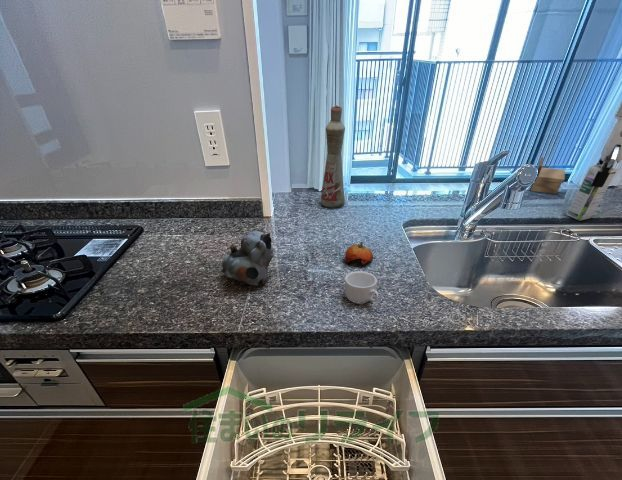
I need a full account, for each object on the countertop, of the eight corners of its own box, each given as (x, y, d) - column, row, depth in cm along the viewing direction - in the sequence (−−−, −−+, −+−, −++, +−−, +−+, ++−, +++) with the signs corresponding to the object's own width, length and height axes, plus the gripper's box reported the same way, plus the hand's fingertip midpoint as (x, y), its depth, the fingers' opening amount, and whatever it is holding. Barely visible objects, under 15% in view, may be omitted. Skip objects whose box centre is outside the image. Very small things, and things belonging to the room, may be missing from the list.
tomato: (381, 258, 102) (367, 241, 97) (364, 279, 104) (349, 263, 99) (366, 251, 108) (352, 234, 103) (351, 270, 109) (336, 255, 105)
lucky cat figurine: (220, 269, 102) (232, 216, 96) (261, 283, 106) (276, 232, 100) (219, 280, 89) (233, 220, 83) (266, 295, 93) (283, 239, 87)
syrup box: (565, 215, 125) (589, 165, 114) (577, 212, 126) (602, 163, 115) (579, 221, 122) (605, 171, 110) (591, 218, 123) (619, 168, 112)
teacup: (337, 298, 92) (338, 278, 88) (359, 287, 95) (361, 268, 91) (365, 315, 87) (367, 295, 83) (387, 304, 90) (390, 283, 86)
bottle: (349, 206, 132) (356, 106, 111) (327, 210, 129) (329, 109, 108) (337, 198, 137) (342, 101, 116) (316, 202, 134) (316, 104, 113)
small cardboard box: (558, 184, 145) (569, 160, 139) (557, 194, 138) (569, 169, 131) (531, 181, 148) (541, 157, 141) (529, 190, 141) (539, 166, 134)
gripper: (651, 119, 97) (610, 192, 110) (644, 107, 107) (607, 175, 120) (619, 116, 99) (583, 189, 112) (615, 105, 109) (582, 172, 122)
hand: (596, 181), depth 116 cm, fingers closed on syrup box, 8 cm apart
